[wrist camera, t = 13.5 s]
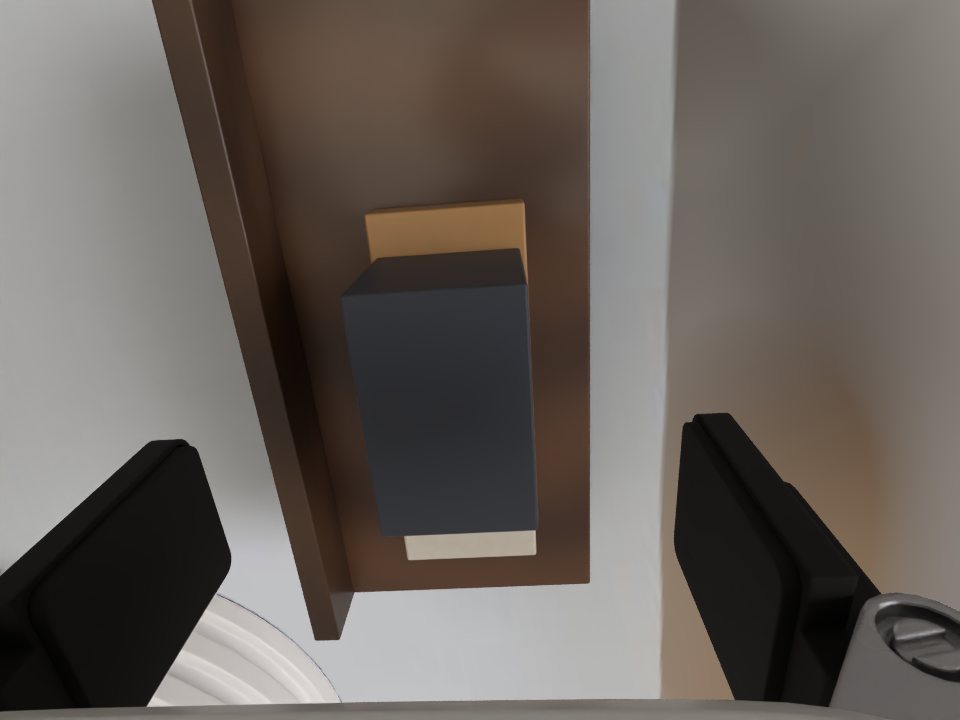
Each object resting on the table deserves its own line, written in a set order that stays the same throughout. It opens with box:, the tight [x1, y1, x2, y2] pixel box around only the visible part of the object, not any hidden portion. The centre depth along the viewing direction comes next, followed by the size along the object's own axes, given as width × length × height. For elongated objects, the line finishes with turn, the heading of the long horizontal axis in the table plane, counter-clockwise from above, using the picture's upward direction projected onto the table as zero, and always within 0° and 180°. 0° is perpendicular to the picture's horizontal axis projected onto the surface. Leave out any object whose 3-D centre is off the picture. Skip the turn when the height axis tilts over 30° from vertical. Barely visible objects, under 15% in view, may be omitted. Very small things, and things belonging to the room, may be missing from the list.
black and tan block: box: [340, 199, 538, 560], centre depth 17 cm, size 12×5×6 cm, turn 4°
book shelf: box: [152, 0, 590, 641], centre depth 21 cm, size 22×11×8 cm, turn 4°
